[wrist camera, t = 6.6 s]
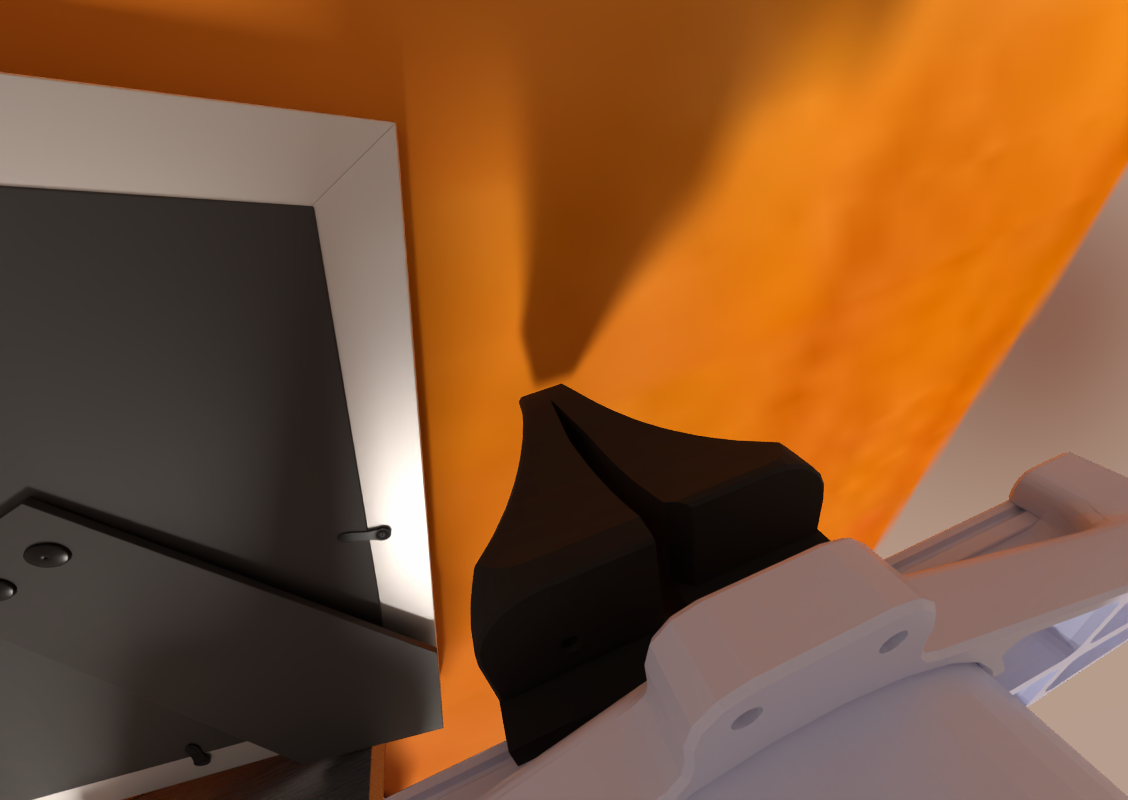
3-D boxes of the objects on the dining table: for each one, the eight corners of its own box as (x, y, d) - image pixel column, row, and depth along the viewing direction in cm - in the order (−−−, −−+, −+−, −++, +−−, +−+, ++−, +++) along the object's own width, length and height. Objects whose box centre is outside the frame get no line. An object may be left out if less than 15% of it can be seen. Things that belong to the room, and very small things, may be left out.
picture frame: (438, 659, 20) (397, 128, 10) (443, 728, 17) (395, 118, 8) (-38, 779, 15) (-1065, -54, 5) (-122, 897, 12) (-2408, -245, 3)
